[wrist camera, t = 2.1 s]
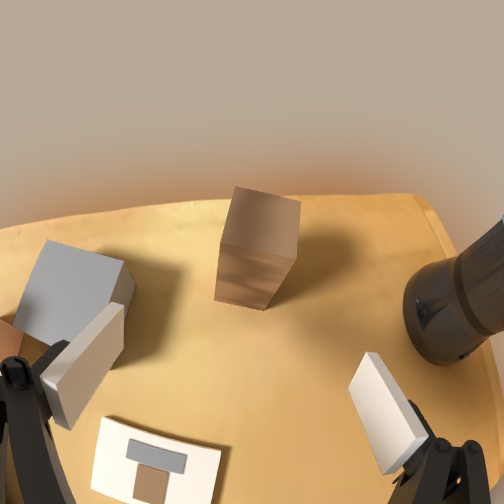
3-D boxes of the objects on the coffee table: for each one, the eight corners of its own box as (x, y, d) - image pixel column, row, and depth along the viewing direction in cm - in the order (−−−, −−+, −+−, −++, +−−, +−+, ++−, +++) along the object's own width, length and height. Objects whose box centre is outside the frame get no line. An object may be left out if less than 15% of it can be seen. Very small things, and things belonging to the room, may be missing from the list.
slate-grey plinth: (136, 285, 30) (124, 260, 24) (111, 370, 24) (90, 363, 19) (67, 264, 29) (47, 239, 24) (39, 340, 24) (12, 325, 19)
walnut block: (270, 266, 33) (300, 201, 23) (263, 310, 30) (296, 259, 20) (224, 256, 33) (235, 186, 23) (214, 300, 30) (220, 242, 20)
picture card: (220, 449, 22) (221, 451, 21) (206, 519, 18) (206, 524, 17) (105, 416, 22) (101, 416, 21) (93, 486, 17) (89, 488, 16)
